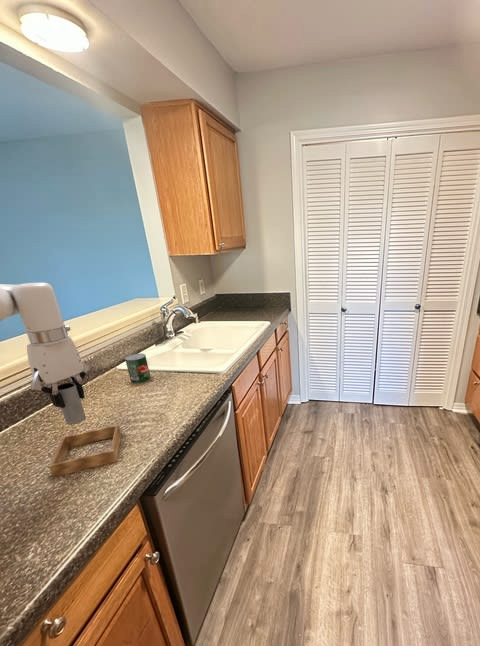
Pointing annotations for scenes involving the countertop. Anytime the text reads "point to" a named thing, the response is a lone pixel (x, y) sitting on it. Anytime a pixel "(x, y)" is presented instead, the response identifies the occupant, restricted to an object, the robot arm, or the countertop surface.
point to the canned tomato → (138, 368)
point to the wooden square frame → (74, 465)
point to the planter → (71, 404)
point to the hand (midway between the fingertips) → (70, 401)
